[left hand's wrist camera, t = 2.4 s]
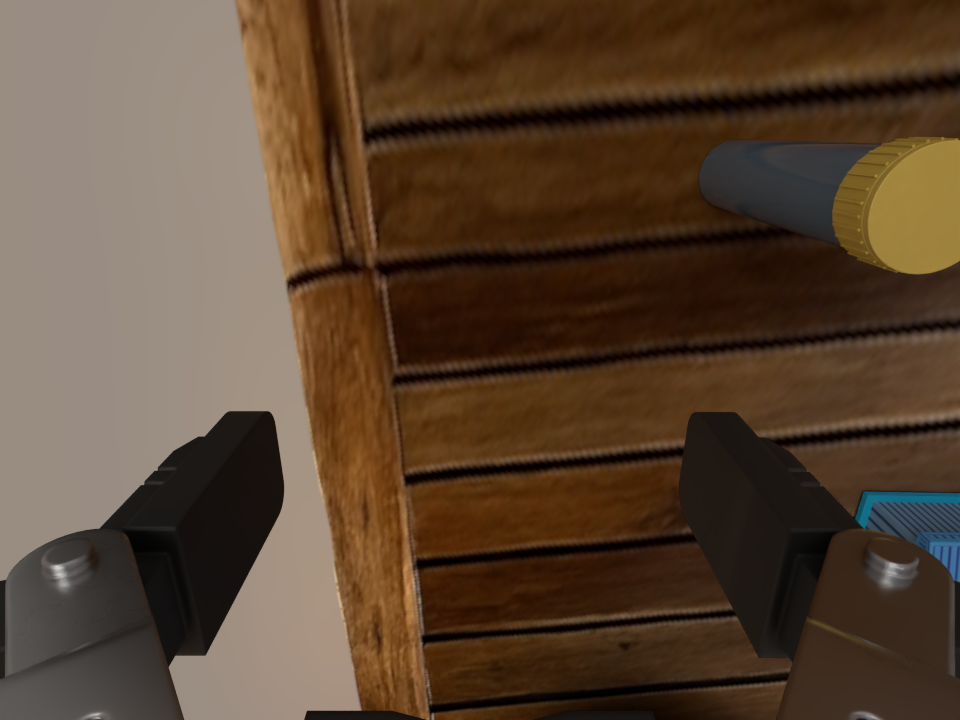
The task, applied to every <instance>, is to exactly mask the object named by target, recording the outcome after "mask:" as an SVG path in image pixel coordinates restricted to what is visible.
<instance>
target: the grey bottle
mask: <svg viewBox="0 0 960 720" xmlns="http://www.w3.org/2000/svg"><path fill="white" fill-rule="evenodd" d="M880 146H881V144H877V143H845V142H813V141H781V140H749V139H733V140H729V141H726V142H723V143H721V144H719V145H718V146H716V147H715V148H714V149H713V150H712V151H711V152H710V153H709V154H708V155H707V157H706V158H705V160H704V161H703V163H702V166H701V169H700V173H699V186H700V190H701V193H702V195H703V196H704V198H705V199H706V200H707V201H708V202H709V203H710V204H711V205H713V206H715V207H718V208H721V209H724V210H727V211H730V212H733V213H736V214H739V215H742V216H745V217H749V218H752V219H755V220H758V221H761V222H764V223H767V224H770V225H773V226H776V227H780V228H783V229H786V230H789V231H792V232H795V233H798V234H801V235H804V236H808V237H811V238H814V239H817V240H820V241H823V242H826V243H829V244H832V245H836V246H839V247H841V246H840V244H841V243H840V242H839V240H838V238H837V237H835V231H834V227H833V225H832V223H833V220H832V210H833V204H834V198H835V196H836V193H837V191H838V188H839V185H840V184H841V183H842V181H843V179H844V178H845V176H846V175H847V172H848V171H850V169H851V168H852V167H853V166H854V165H855V164H856V163H857V161H858V160H860V159H861V158H862V157H864V156H865V155H866V154H868V152H869V151H870V150H874V149H876V148H878V147H880ZM842 248H844V247H842Z"/></svg>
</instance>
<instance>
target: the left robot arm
mask: <svg viewBox="0 0 960 720" xmlns="http://www.w3.org/2000/svg"><path fill="white" fill-rule="evenodd" d="M283 498H284V480H283V473H282V466H281V459H280V453H279V446H278V439H277V432H276V425H275V421H274V418H273V415H272V414H271V413H270V412H268V411H229V412H227V413H226V414H225V415H224V416H223V417H222V418H221V419H220V420H219V421H218V423H217V424H216V425H215V426H214V427H213V428H212V429H211V430H210V431H209V433H208V434H207V435H206V436H205V437H197V438H195V439H194V440H192V441H190V442H188V443H187V444H185V445H183V446H182V447H180V448H178V449H176V450H175V451H173V452H172V453H171V454H170V455H169V457H168V458H167V459H166V460H165V461H164V462H163V463H162V464H161V465H160V466H159V467H158V471H154V472H153V473H152V474H151V475H150V476H149V477H148V478H147V479H146V480H145V483H144V485H141V486H140V487H139V488H138V489H137V490H136V491H135V492H134V493H133V494H132V495H131V496H130V497H129V498H128V499H127V500H126V501H125V502H124V503H123V505H122V506H121V507H120V508H119V509H118V510H117V511H116V512H115V513H114V514H113V515H112V516H111V517H110V518H109V519H108V520H107V521H106V522H105V523H104V524H103V525H102V527H101V528H100V529H91V530H85V531H80V532H76V533H72V534H69V535H66V536H63V537H60V538H58V539H55V540H53V541H51V542H49V543H46V544H44V545H43V546H41V547H39V548H37V549H36V550H34V551H33V552H31V553H29V554H28V555H27V556H25V557H24V558H23V559H22V560H21V561H19V562H18V564H16V565H15V566H14V568H13V569H12V570H11V572H10V573H9V575H8V577H7V579H6V580H3V581H0V720H184V717H183V714H182V711H181V707H180V704H179V701H178V698H177V694H176V691H175V687H174V684H173V681H172V678H171V674H170V671H169V665H170V664H171V662H172V660H173V659H174V657H175V656H189V655H190V656H205V655H206V654H207V652H208V650H209V648H210V646H211V644H212V642H213V640H214V638H215V636H216V635H217V633H218V631H219V629H220V627H221V625H222V623H223V621H224V619H225V617H226V615H227V614H228V612H229V610H230V608H231V606H232V604H233V602H234V600H235V598H236V596H237V594H238V592H239V591H240V589H241V587H242V585H243V583H244V581H245V579H246V577H247V575H248V573H249V571H250V570H251V568H252V566H253V564H254V562H255V560H256V558H257V556H258V554H259V552H260V550H261V549H262V547H263V545H264V543H265V541H266V539H267V537H268V535H269V533H270V531H271V529H272V528H273V526H274V524H275V522H276V520H277V518H278V516H279V514H280V511H281V508H282V504H283ZM679 499H680V505H681V509H682V512H683V515H684V517H685V519H686V521H687V523H688V525H689V526H690V528H691V530H692V532H693V534H694V536H695V538H696V540H697V542H698V543H699V545H700V547H701V549H702V551H703V553H704V555H705V557H706V559H707V560H708V562H709V564H710V566H711V568H712V570H713V572H714V574H715V576H716V577H717V579H718V581H719V583H720V585H721V587H722V589H723V591H724V593H725V594H726V596H727V598H728V600H729V602H730V604H731V606H732V608H733V610H734V611H735V613H736V615H737V617H738V619H739V621H740V623H741V625H742V627H743V628H744V630H745V632H746V634H747V636H748V638H749V640H750V642H751V644H752V645H753V647H754V649H755V651H756V653H757V655H758V657H759V658H790V659H791V661H792V663H793V664H792V667H791V671H790V674H789V677H788V681H787V684H786V687H785V691H784V694H783V697H782V701H781V704H780V707H779V711H778V714H777V717H776V720H960V582H958V581H954V579H953V577H952V575H951V573H950V572H949V570H948V569H947V568H946V566H945V565H944V564H943V563H942V562H941V561H940V560H938V559H937V558H936V557H935V556H933V555H932V554H931V553H929V552H927V551H926V550H924V549H923V548H921V547H919V546H917V545H916V544H914V543H912V542H909V541H907V540H905V539H903V538H900V537H897V536H894V535H891V534H888V533H884V532H880V531H875V530H869V529H864V528H863V527H862V526H861V525H860V524H859V523H858V522H857V521H856V520H855V519H854V518H853V517H852V516H851V515H850V514H849V513H848V512H847V510H846V509H845V508H844V507H843V506H842V505H841V504H840V503H839V502H838V501H837V500H836V499H835V498H834V497H833V496H832V495H831V494H830V493H829V492H828V491H827V490H826V489H825V488H824V487H820V483H819V481H818V480H817V479H816V478H815V477H814V476H813V475H812V474H811V473H810V472H806V468H805V467H804V466H803V465H802V464H801V463H800V462H799V461H798V460H797V459H796V458H795V457H794V456H793V455H792V454H791V452H789V451H787V450H786V449H784V448H782V447H780V446H779V445H777V444H775V443H774V442H772V441H770V440H768V439H767V438H759V437H758V436H757V435H756V434H755V433H754V432H753V430H752V429H751V428H750V427H749V426H748V425H747V424H746V423H745V422H744V421H743V419H742V418H741V417H740V416H739V415H738V414H737V413H735V412H695V413H693V414H692V415H691V417H690V419H689V422H688V427H687V434H686V440H685V447H684V454H683V460H682V467H681V474H680V481H679ZM304 720H425V719H422V718H418V717H414V716H410V715H406V714H402V713H398V712H395V711H307V713H306V716H305V719H304ZM535 720H656V719H655V716H654V713H653V711H565V712H562V713H558V714H554V715H550V716H546V717H542V718H538V719H535Z"/></svg>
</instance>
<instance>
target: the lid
mask: <svg viewBox="0 0 960 720" xmlns="http://www.w3.org/2000/svg"><path fill="white" fill-rule="evenodd" d="M832 220H833V223H832V225H833V227H834V231H835V237H837V238H838V240H839V242H840V243H841V244H840V246H841V247H844V248H845V249H846V250H847V251H848V254H849V255H852V256H855V257H858V258H857V260H860V261H863V262H865V263H868V264H871V265H874V266H877V267H880V268H883V269H887V270H890V271H893V272H896V273H898V271H899V272H902V273H907V274H926V273H931V272H936V271H939V270H942V269H945V268H947V267H949V266H951V265H953V264H955V263H957V262H959V261H960V140H958V139H957V138H945V137H909V138H908V139H895V141H893V142H890V143H883V144H881V146H880V147H878V148H876V149H874V150H870V151H869V152H868V154H866V155H865V156H864V157H862V158H861V159H860V160H858V161H857V163H856V164H855V165H854V166H853V167H852V168H851V169H850V171H848V172H847V175H846V176H845V178H844V179H843V181H842V183H841V184H840V185H839V188H838V191H837V193H836V196H835V198H834V204H833V210H832Z"/></svg>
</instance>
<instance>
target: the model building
mask: <svg viewBox="0 0 960 720" xmlns="http://www.w3.org/2000/svg"><path fill="white" fill-rule="evenodd" d="M855 520H856V521H857V522H858V523H859V524H860V525H861V526H862V527H863V528H864V529H869V530H875V531H880V532H884V533H888V534H891V535H894V536H897V537H900V538H903V539H905V540H907V541H909V542H912V543H914V544H916V545H917V546H919V547H921V548H923V549H924V550H926V551H927V552H929V553H931V554H932V555H933V556H935V557H936V558H937V559H938V560H940V561H941V562H942V563H943V564H944V565H945V566H946V568H947V569H948V570H949V572H950V573H951V575H952V577H953V579H954V581H958V582H960V493H924V492H865V491H864V492H863V495H862V499H861V502H860V505H859V508H858V511H857V515H856V518H855Z"/></svg>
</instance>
